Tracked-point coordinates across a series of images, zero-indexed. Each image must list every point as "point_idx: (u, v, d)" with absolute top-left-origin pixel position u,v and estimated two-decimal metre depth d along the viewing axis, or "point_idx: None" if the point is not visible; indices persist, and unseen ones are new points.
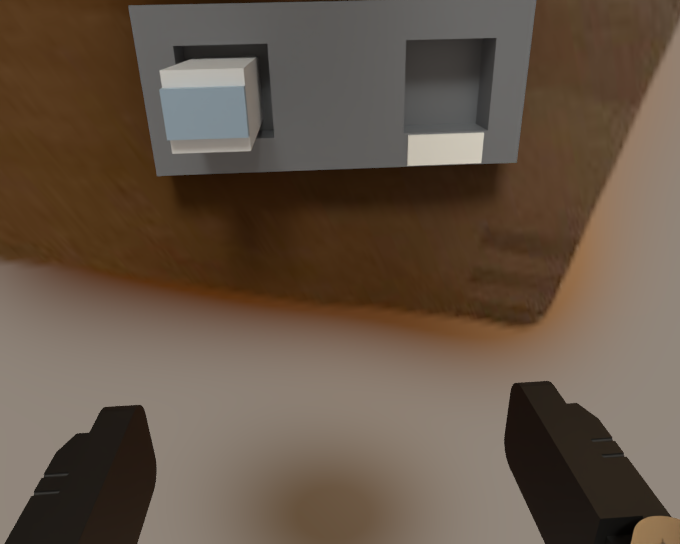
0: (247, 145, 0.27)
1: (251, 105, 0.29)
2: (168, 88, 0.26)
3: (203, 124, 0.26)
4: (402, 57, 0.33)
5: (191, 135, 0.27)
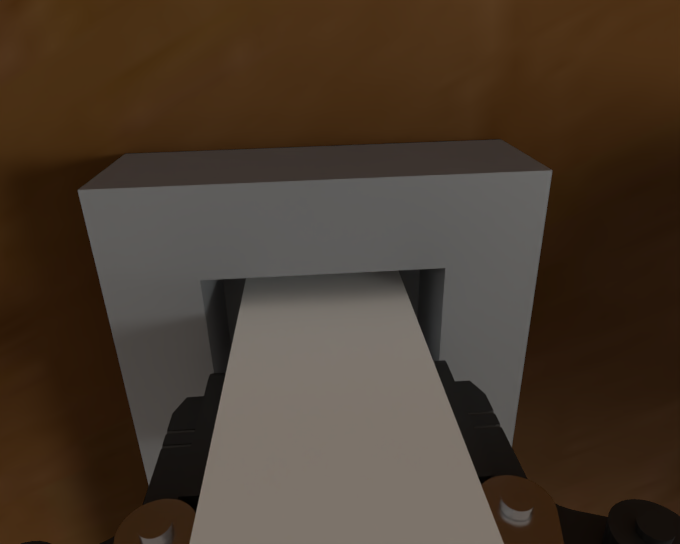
0: None
1: None
2: None
3: None
4: None
5: None
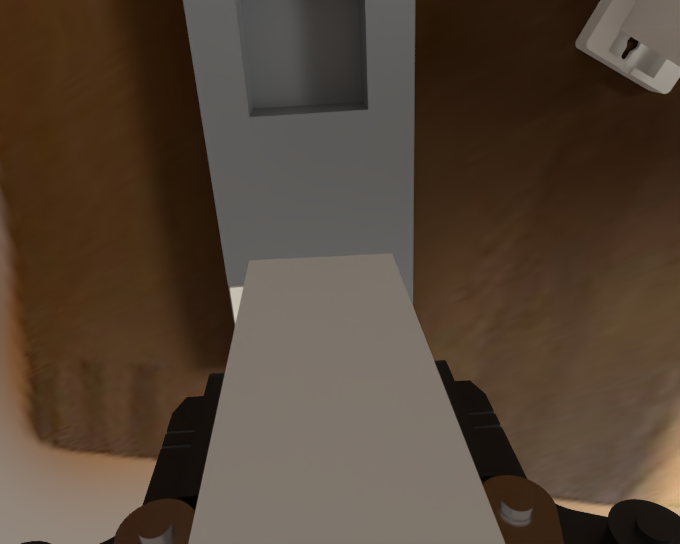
0: None
1: None
2: None
3: None
4: None
5: None
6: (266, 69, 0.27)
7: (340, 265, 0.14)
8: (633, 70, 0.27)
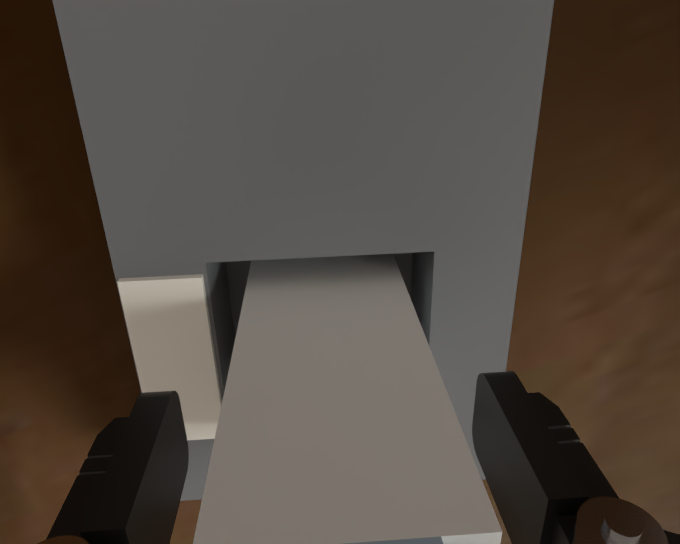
0: None
1: None
2: None
3: None
4: (395, 246, 0.13)
5: None
6: None
7: None
8: None
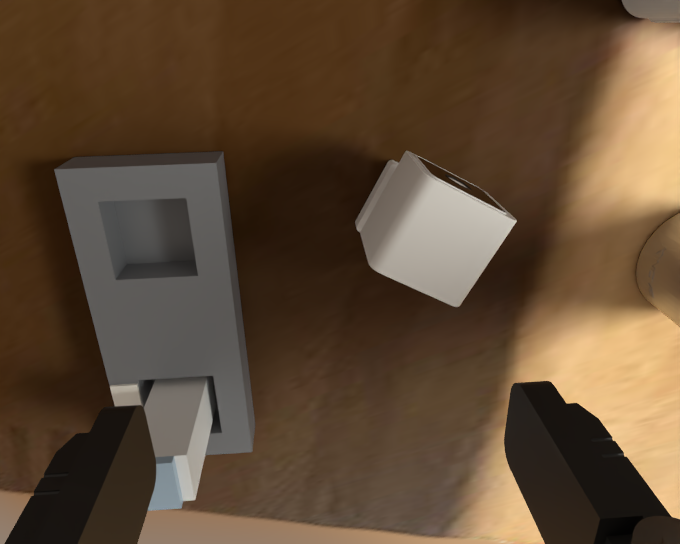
0: None
1: None
2: (173, 463, 0.34)
3: None
4: (199, 374, 0.41)
5: None
6: (134, 240, 0.39)
7: None
8: None
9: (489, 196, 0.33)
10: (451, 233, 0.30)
